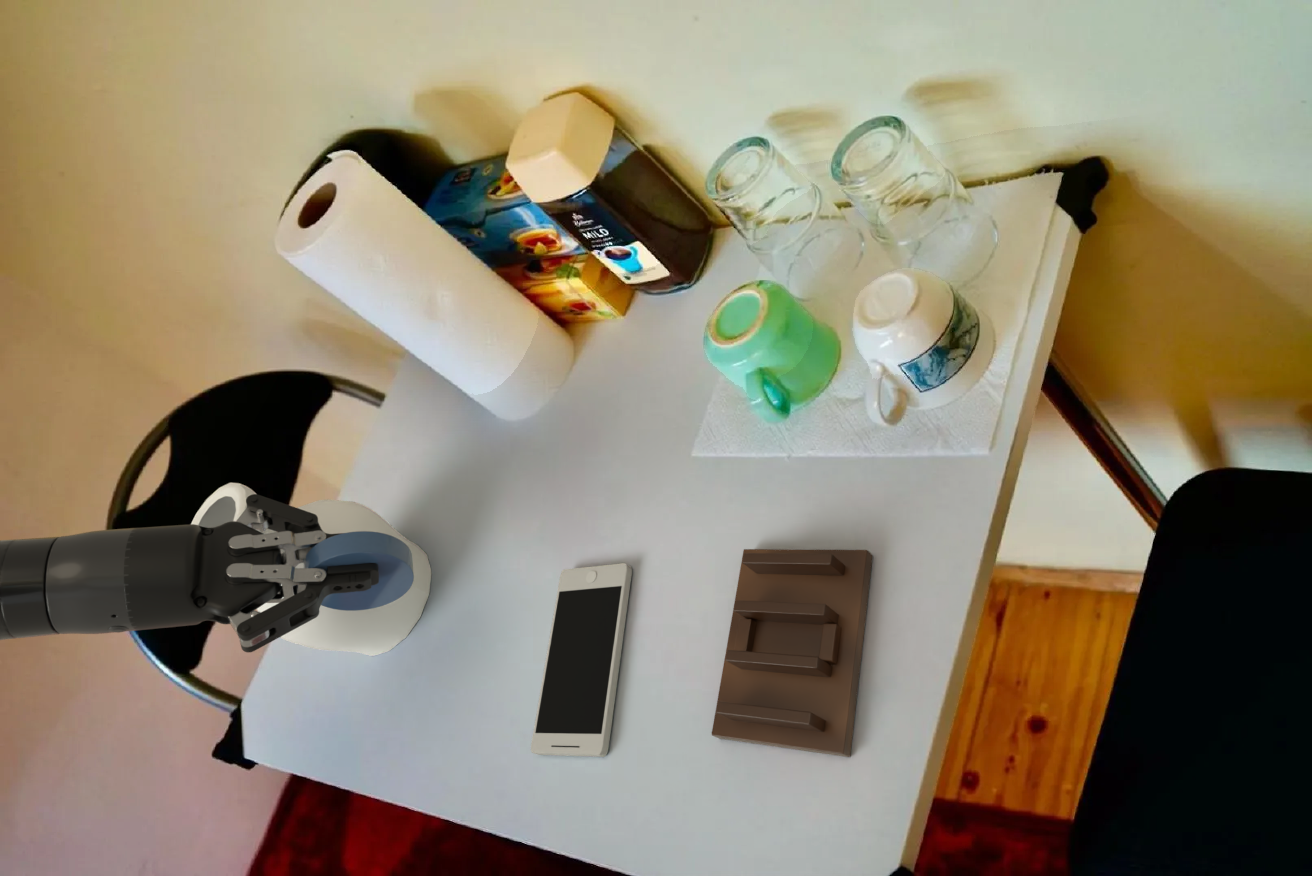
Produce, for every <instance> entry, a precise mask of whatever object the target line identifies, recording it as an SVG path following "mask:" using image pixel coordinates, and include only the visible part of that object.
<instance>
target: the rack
mask: <svg viewBox="0 0 1312 876" xmlns="http://www.w3.org/2000/svg"><path fill="white" fill-rule="evenodd" d="M873 558H874V556H873V554H872V553H871V552H870V551H869V550H868V549H805V548H803V549H799V548H798V549H797V548H796V549H795V548H794V549H793V548H791V549H786V548H784V549H783V548H782V549H781V548H779V549H777V548H776V549H775V548H771V549H770V548H766V549H765V548H764V549H763V548H747V549H746V548H744V549H743V551H742V556H741V562H740V569H739V574H738V580H737V586H736V590H735V597H734V601H733V602H734V603H733V608H732V615H731V621H730V627H729V631H728V638H727V644H726V649H725V655H724V661H723V665H722V666H723V667H722V672H721V678H720V683H719V690H718V696H717V700H716V707H715V711H714V717H713V724H712V729H711V736H713V737H715V738H717V739H719V740H726V741H732V742H733V741H734V742H740V743H746V744H747V743H748V744H753V745H762V746H767V747H768V746H769V747H775V748H782V749H788V750H795V751H801V752H802V751H803V752H808V753H809V752H810V753H815V754H822V755H829V756H838V757H844V758H850V757H851V753H852V745H853V744H852V743H853V734H854V725H855V718H856V708H857V701H858V700H857V698H858V690H859V683H860V674H861V673H860V672H861V665H862V663H861V662H862V655H863V645H864V639H865V637H864V636H865V628H866V627H865V626H866V620H867V613H868V612H867V610H868V601H869V593H870V586H871V585H870V584H871V575H872V567H873Z"/></svg>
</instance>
